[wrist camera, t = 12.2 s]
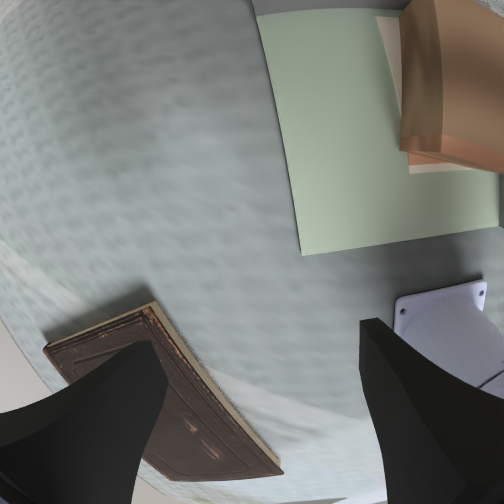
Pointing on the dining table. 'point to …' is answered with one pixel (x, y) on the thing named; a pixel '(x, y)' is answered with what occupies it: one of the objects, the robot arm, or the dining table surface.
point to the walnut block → (453, 83)
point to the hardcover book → (173, 401)
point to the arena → (359, 131)
